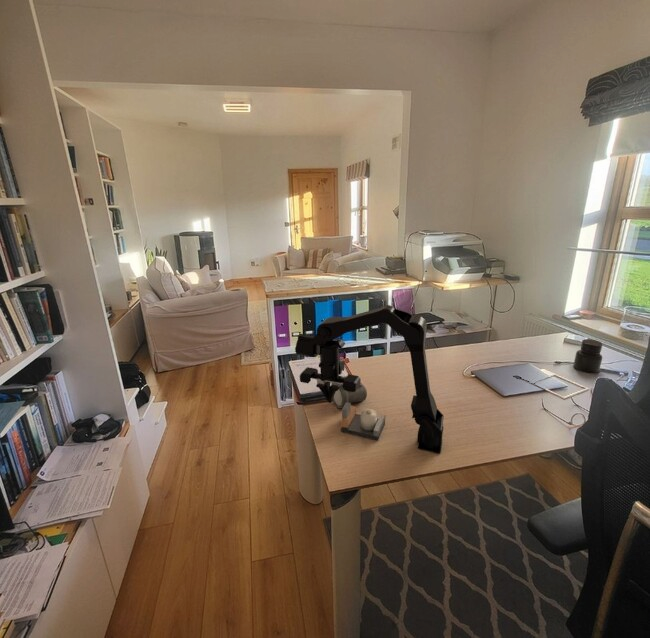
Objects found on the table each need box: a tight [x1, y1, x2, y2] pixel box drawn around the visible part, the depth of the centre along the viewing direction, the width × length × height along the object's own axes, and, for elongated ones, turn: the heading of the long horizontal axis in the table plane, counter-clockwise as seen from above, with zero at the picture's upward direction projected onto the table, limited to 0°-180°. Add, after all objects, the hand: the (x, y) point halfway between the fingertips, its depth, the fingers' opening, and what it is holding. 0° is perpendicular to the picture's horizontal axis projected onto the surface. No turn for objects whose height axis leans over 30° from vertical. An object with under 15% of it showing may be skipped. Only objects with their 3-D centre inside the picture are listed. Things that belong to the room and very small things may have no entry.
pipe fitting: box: [332, 375, 368, 409], centre depth 126 cm, size 12×8×10 cm
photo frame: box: [540, 368, 590, 400], centre depth 137 cm, size 15×1×18 cm
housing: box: [360, 408, 378, 430], centre depth 111 cm, size 5×5×5 cm
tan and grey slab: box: [341, 402, 356, 428], centre depth 114 cm, size 2×8×6 cm, turn 157°
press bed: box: [340, 413, 386, 442], centre depth 113 cm, size 12×9×4 cm
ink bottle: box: [573, 338, 603, 374], centre depth 146 cm, size 10×9×12 cm
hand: (330, 402), depth 113 cm, fingers closed
